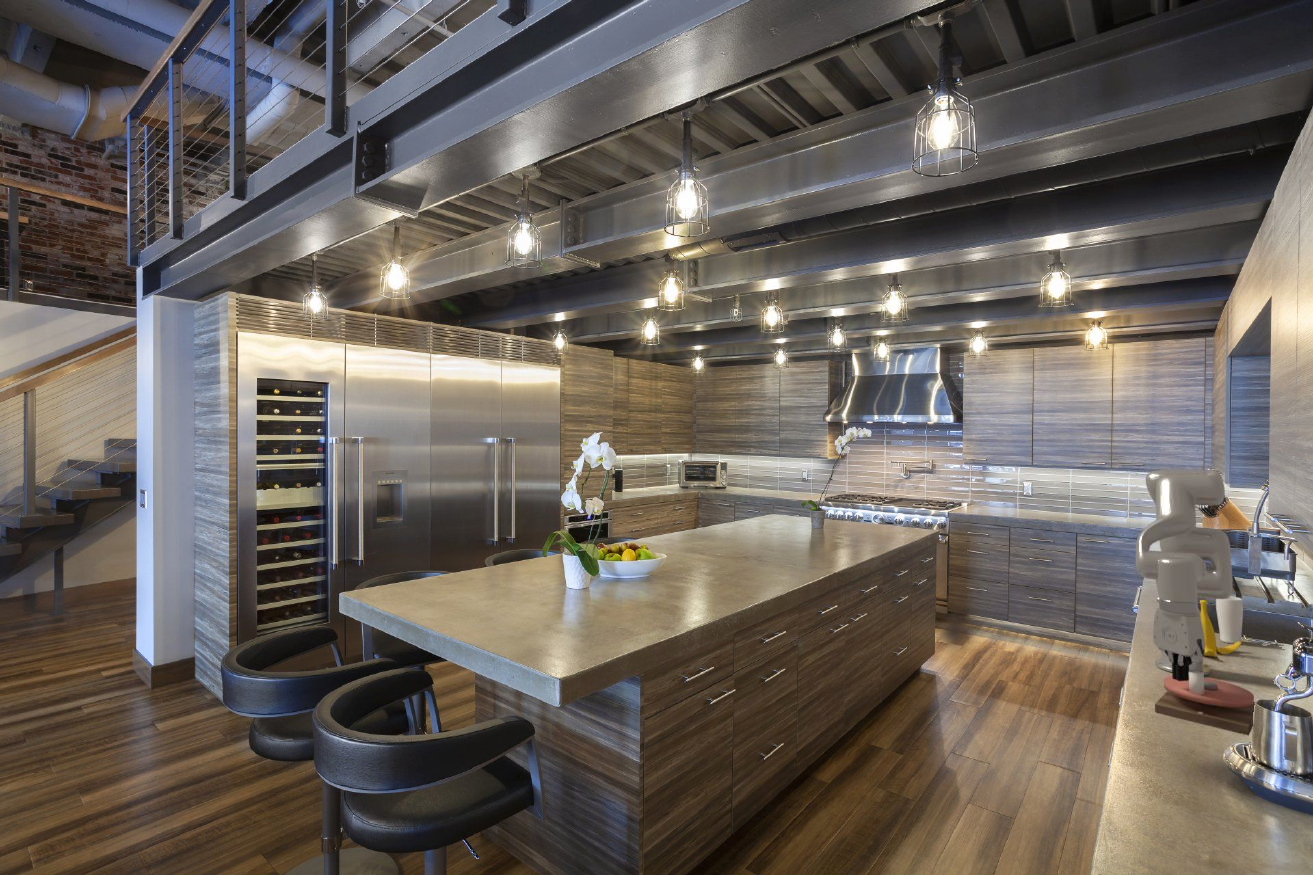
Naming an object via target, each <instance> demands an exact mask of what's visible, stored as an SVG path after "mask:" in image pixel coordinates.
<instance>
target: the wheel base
mask: <svg viewBox="0 0 1313 875" xmlns="http://www.w3.org/2000/svg"><path fill="white" fill-rule="evenodd" d="M1255 703H1256V701H1254V704H1253V705H1251V706H1248V707H1223V706H1215V705H1209V704H1204V703H1199V702H1195V701H1192V700H1188V699H1185V698H1182V697H1179V696H1177V695H1174V694H1172V693H1170V692H1169V691H1167V690H1166V692H1165V693H1164V694H1163V695H1162V696H1161V697H1160V698H1159V699H1158V700H1157V702H1155V703H1154V712H1155V714H1156V713H1157V714H1160V715H1164V716H1168V717H1173V718H1176V719H1181V720H1185V721H1189V722H1193V723H1198V724H1202V725H1204V726H1205V725H1206V726H1210V727H1214V728H1218V729H1222V730H1226V731H1230V732H1234V733H1239V734H1243V735H1247V736H1249V735H1250V734H1251V731H1252V730H1253V728H1254V726H1253V712H1254V705H1255ZM1252 727H1253V728H1252Z"/></svg>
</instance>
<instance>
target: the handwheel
mask: <svg viewBox="0 0 1313 875" xmlns="http://www.w3.org/2000/svg"><path fill="white" fill-rule="evenodd" d="M1163 687H1164V689H1165V690H1166V692H1167V691H1169V692H1170V693H1172V694H1174V695H1177V696H1179V697H1182V698H1185V699H1188V700H1192V701H1195V702H1199V703H1204V704H1209V705H1215V706H1223V707H1248V706H1251V705H1253V704H1254V702H1255V696H1254V693H1252V692H1251V691H1249V690H1248V689H1246V688H1245V687H1244V688H1243V687H1241V686H1239V685H1236V684H1234V683H1229V682H1226V681H1224V680H1223V681H1222V680H1219V679H1213V678H1208V677H1205V676H1204V674H1203V673H1201V672H1198V671H1189V680H1188V681H1177V680H1175V679H1173V678H1172V675H1170V676H1167V677H1164V678H1163Z"/></svg>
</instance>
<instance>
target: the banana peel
mask: <svg viewBox="0 0 1313 875" xmlns="http://www.w3.org/2000/svg"><path fill="white" fill-rule="evenodd" d="M1199 603H1200V613H1201V621H1202V626H1203V631H1204V638H1205V654H1204V655H1203V656H1204V657H1205V656H1206V657H1214V658H1218V654H1221V655H1228V654H1231V653H1233V652H1234V651H1236V650H1237V649H1238V648H1240V646H1241V645H1242V643H1243V642H1242V641H1241V642H1237V643H1235V644H1230V645H1227V646H1224V647H1218V646H1217V641H1216V634H1215V630H1214V627H1213V624H1212V621H1211V619H1210V617H1209V615H1208V610H1207V608H1208V607H1207V606H1208V601H1207V600H1204V599H1202V600H1201V599H1200V601H1199Z"/></svg>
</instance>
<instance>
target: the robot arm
mask: <svg viewBox="0 0 1313 875" xmlns="http://www.w3.org/2000/svg"><path fill="white" fill-rule="evenodd" d="M1145 485H1146V488H1147V491H1148V494H1149V496H1150V497H1151V500H1152V501H1153V502H1154V503H1153V504H1154V505H1155V520H1154V521H1152V522H1150V523H1149V524H1148V525H1147V526H1146V527H1144V528H1143V530H1142V531H1141V532H1139V535H1138V536H1137V539H1136V543H1135V568H1136V571H1137V573H1138V575H1139V576H1141V577H1143V578H1144V579H1149V580H1154V581H1155V584H1156V588H1157V595H1158V597H1157V599H1156V602H1157V603H1158V605H1159V606H1158V608H1156V610H1155V613H1154V618H1153V630H1152V636H1153V637H1152V638H1153V644H1154V646H1155V647H1157V648H1158V650H1160V653H1161V654H1160V656H1161V658H1158V659H1156V660H1155V661H1154V662H1155V663H1154V664H1155V666H1156V668H1159V669H1161V670H1164V671H1166V672H1170V673H1172V674H1171V676H1172V678H1173V679H1175V680H1177V681H1188V680H1189V671H1198V672H1201V673H1203V674H1204V677H1206V676H1208V675H1210V674H1211V669H1210V668H1209V667H1208V666H1206V665H1204V663H1203V662H1204V659H1203V658H1204V657H1203V656H1204V654H1205V638H1204V631H1203V626H1202V621H1201V609H1199V605H1198V603H1199V602H1198V601H1199V600H1198V598H1202V599H1203V598H1206V599H1213V600H1216V599H1227V598H1229V597H1230V596H1232V594H1233V570H1232V567H1233V566H1232V552H1231V544H1230V539H1229V537H1228V535H1227V533H1226V532H1224V531H1223V530H1221V529H1217V528H1213V527H1212V528H1210V527H1209V528H1208V527H1197V526H1196V525H1197V516H1196V515H1197V512H1196V506H1219V505H1220V506H1221V504H1223V501H1224V500H1225V495H1226V492H1225V484H1224V480H1223V477H1222V475H1221V473H1220V472H1219V471H1217V470H1212V469H1158V470H1152V471H1150V472H1148V473H1147V474H1146V476H1145ZM1157 542H1159V546H1160V547H1159V548H1160V550H1150V547H1151V546H1152V545H1153V544H1155V543H1157ZM1206 561H1207V562H1209V563H1210V565H1209V564H1208V565H1207V563H1206Z"/></svg>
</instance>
